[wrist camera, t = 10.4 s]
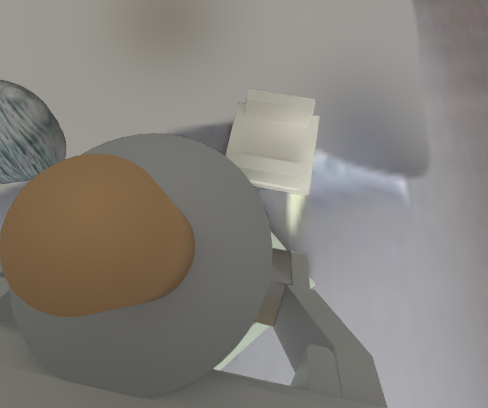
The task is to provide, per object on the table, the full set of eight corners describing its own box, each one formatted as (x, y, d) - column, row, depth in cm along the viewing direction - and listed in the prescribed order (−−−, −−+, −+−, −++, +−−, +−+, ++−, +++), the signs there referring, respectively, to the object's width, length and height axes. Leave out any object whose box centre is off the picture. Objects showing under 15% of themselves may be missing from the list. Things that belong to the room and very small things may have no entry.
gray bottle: (221, 225, 16) (146, 8, 3) (263, 278, 16) (378, 261, 3) (167, 267, 16) (-195, 196, 3) (208, 325, 15) (-32, 638, 2)
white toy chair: (317, 120, 27) (327, 99, 23) (301, 232, 24) (310, 224, 20) (238, 107, 27) (237, 84, 24) (212, 215, 24) (208, 204, 21)
